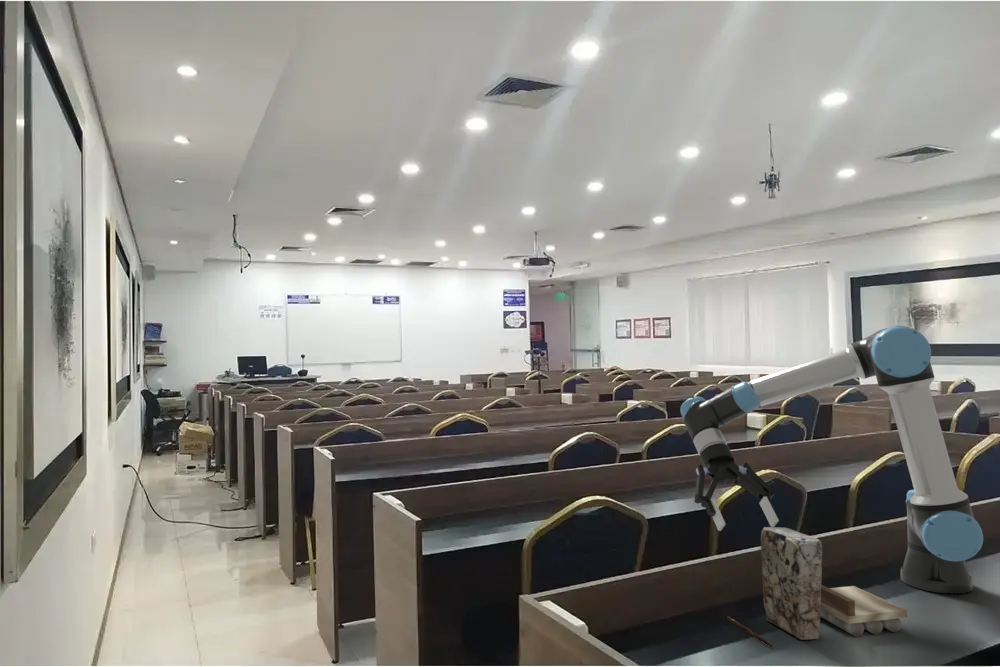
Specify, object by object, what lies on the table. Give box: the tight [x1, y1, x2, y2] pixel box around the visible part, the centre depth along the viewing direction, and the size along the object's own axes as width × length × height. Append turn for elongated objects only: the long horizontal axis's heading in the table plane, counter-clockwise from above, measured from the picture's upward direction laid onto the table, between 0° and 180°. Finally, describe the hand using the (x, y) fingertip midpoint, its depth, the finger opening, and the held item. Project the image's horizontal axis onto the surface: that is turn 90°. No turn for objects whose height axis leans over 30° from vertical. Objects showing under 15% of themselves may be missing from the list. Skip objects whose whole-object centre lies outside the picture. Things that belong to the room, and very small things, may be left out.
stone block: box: [760, 526, 823, 641], centre depth 142 cm, size 13×7×20 cm, turn 19°
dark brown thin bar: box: [726, 615, 773, 648], centre depth 140 cm, size 15×1×1 cm, turn 15°
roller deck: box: [820, 584, 908, 638], centre depth 145 cm, size 14×15×8 cm
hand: (748, 525), depth 156 cm, fingers open, 13 cm apart
